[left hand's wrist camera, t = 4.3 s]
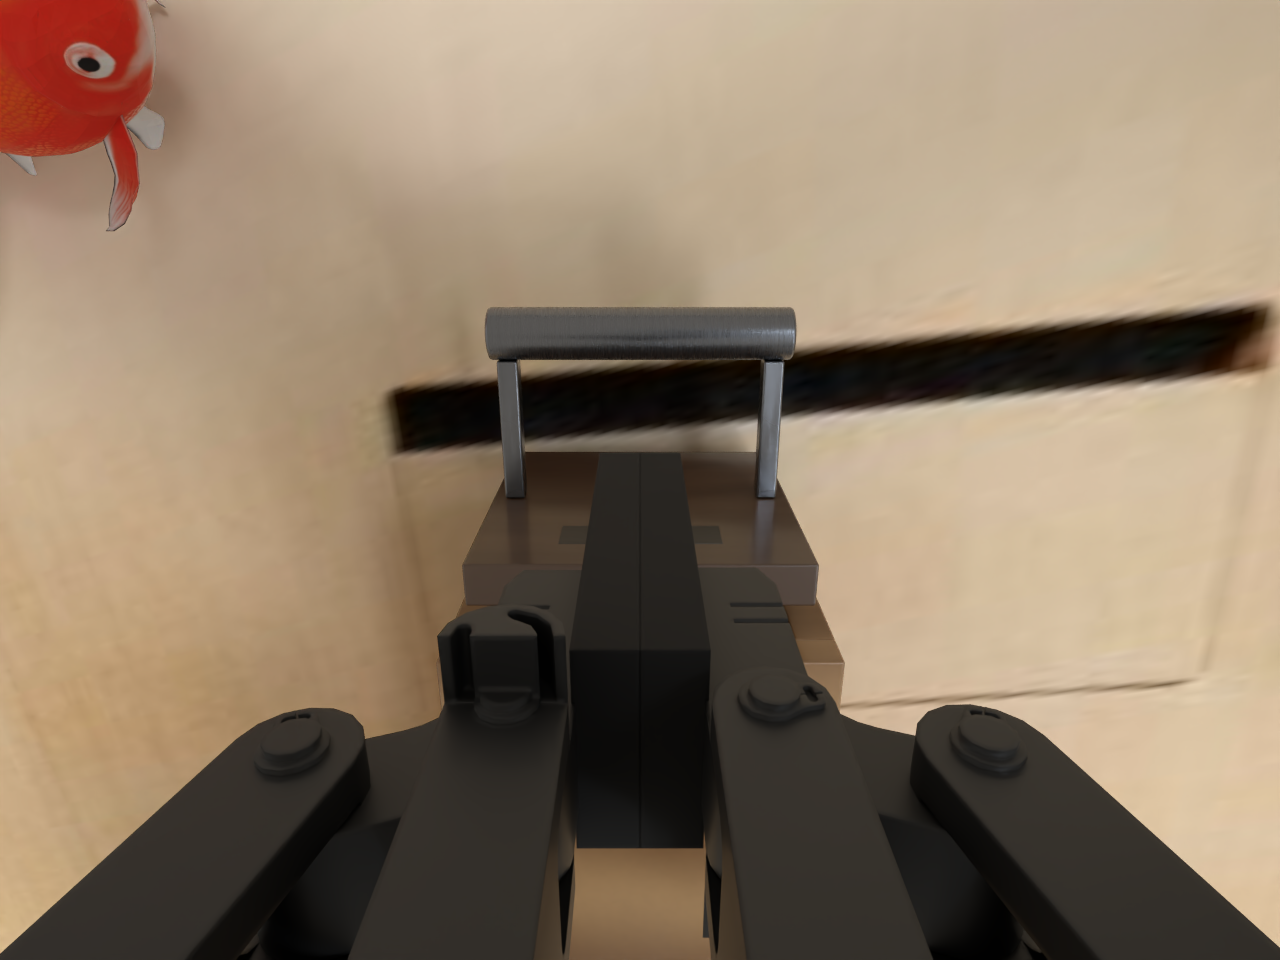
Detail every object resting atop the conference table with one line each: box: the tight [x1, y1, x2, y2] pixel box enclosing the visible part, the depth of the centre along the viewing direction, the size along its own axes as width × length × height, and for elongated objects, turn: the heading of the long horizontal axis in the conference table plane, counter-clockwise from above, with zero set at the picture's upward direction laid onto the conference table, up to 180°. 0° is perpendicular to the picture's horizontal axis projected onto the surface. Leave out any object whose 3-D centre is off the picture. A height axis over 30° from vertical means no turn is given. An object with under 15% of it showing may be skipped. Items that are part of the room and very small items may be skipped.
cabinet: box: [436, 598, 845, 960], centre depth 28 cm, size 20×10×11 cm, turn 0°
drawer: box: [462, 307, 819, 606], centre depth 26 cm, size 25×9×9 cm, turn 0°
